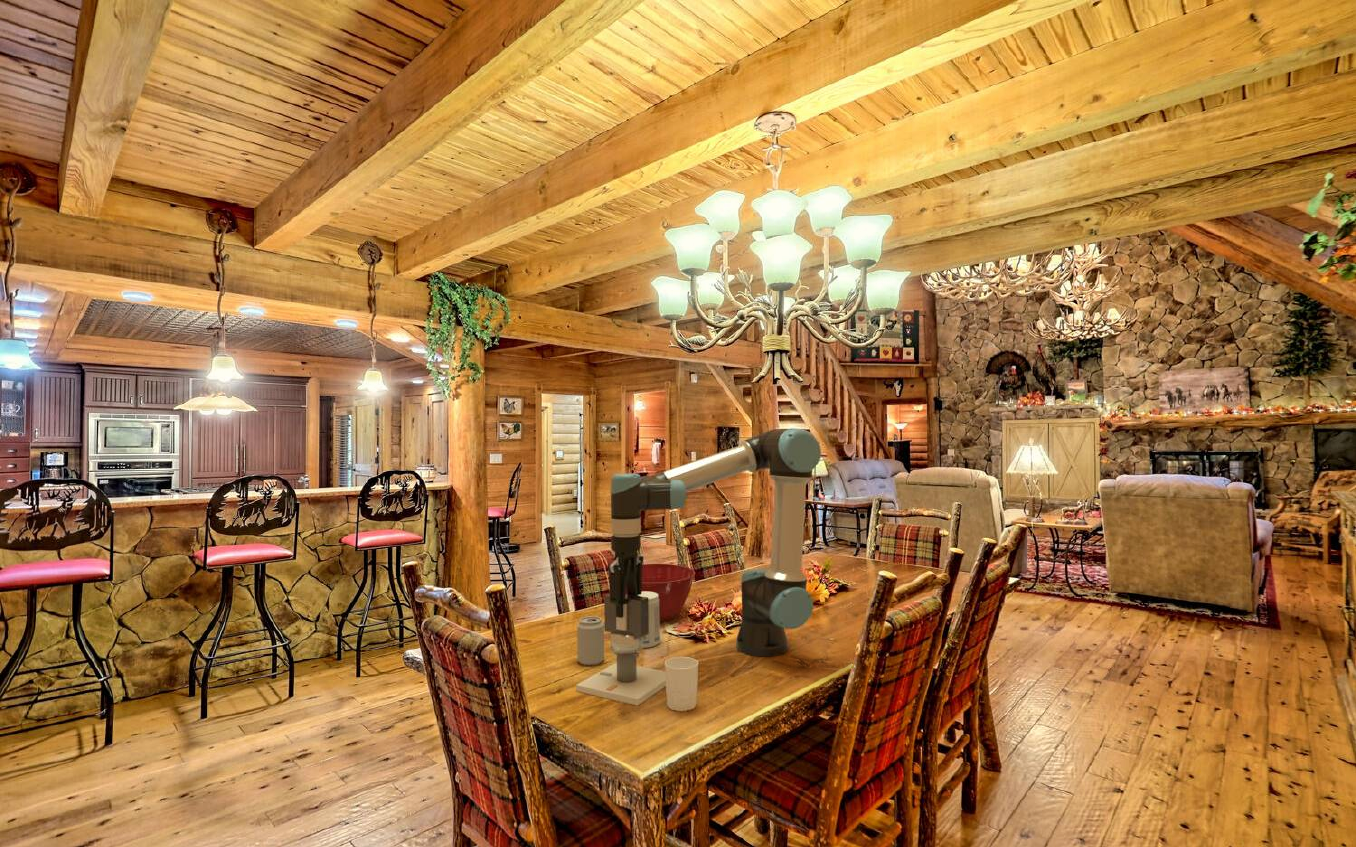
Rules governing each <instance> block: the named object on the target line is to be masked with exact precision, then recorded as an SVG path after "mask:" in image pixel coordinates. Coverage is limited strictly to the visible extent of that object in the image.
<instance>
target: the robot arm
mask: <svg viewBox="0 0 1356 847" xmlns="http://www.w3.org/2000/svg"><path fill="white" fill-rule="evenodd" d="M821 454H822V449H821V445H820V442H819V441H818V439H817V438H816V437H815V435H813V434H812V432H809V431H808V430H806V429H801V428H775V429H770V430H767V431H765V432H762V433H760V434H758V435H755V436H752V437H750V438H748V439H744V440H742V441H740V442H739V445H738V446H734V447H732V448H729V449H726V450H723V451H720V452H718V453H715V454H711V455H709V456H705V457H702V458H700V459H698V460H694V461H691V462H688V463H685V464H683V465H679V466H677V467H674V468H671V469H670V468H669V469H668V470H665V471H662V472H660V473H656V474H652V475H649V476H648V475H647V476H646V475H644V476H641V475H640V473H625V472H624V473H616V474H614V475H613V476H612V477H611V479H610V480H611V481H610V492H609V493H610V512H611V514H610V518H611V520H610V523H611V524H610V528H611V530H610V533H611V534H612V536H611V537H610V549H611V551H613V553H614V558H613V561H612V563H608V564H607V565H606V566H607V567H606V568H607V572H608V579H609V581H608V582H609V585H608V586H609V594H610V602H611V603H614V604H616V629H617V630H623V631H626V630H627V604H625V595H626V586H627V594H628V595H634V596H638V595H641V593H642V564H644V558H645V557H644V556H642V555H638V551H640V550H641V548H642V545H641V542H642V541H641V539H642V537H641V535H640V534H641V532H642V528H641V527H642V525H641V524H642V523H641V519H642V518H641V516H642V515H641V512H642V511H653V510H655V511H656V510H657V511H658V510H660V511H661V510H679V509H682V508H684V507H685V505H686V503H687V499H688V498H687V492H689V491H692V490H695V489H699V488H701V487H705V486H707V485H710V484H712V483H717V482H718V481H721V480H723V479H727V478H730V477H734V476H735V475H738V474H741V473H743V472H747V471H748V472H750V473H754V472H757V471H761V470H769V477H770V478H771V479H772V481H773V483H774V487H773V488H774V489H773V490H774V491H773V509H772V530H771V547H770V562H769V563H770V565H769V566H770V567H769V568H753V569H746V570H744V571H743V572H742V573H741V583H740V584H741V617H742V618H741V623H740V625H739V626H740V627H739V630H738V633H737V636H736V641H735V642H736V649H737V650H738V651H740V653H744V654H746V655H750V656H756V657H757V656H758V657H772V656H779V655H781V654H784V653H786V652H787V651H788V650H789V641H788V638H787V635H786V634H787V633H786V631H785V630H794V629H798V628H800V627H802V626H804V624H805V623H806V622H808V620H809V619H810V618H811V615H812V614H813V609H814V602H813V601H814V600H813V597H812V595H811V594H810V592H809V591H808V590H807V585H808V584H807V581H808V580H807V579H808V578H807V576H806V574H804V572H803V570H802V567H803V550H804V549H803V548H804V529H805V528H804V526H805V513H806V512H805V511H806V510H805V508H806V507H805V506H806V493H807V492H806V491H807V488H806V487H807V486H806V485H807V484H808V483H809V482H810V481H811V480H812V479H813V470H814V469H816V466H817V465H818V464H819V463H820V461H821ZM620 572H623V573H620ZM637 589H638V590H637Z"/></svg>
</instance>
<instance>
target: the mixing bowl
mask: <svg viewBox="0 0 1356 847" xmlns="http://www.w3.org/2000/svg"><path fill="white" fill-rule="evenodd" d="M620 573H623V572H620ZM695 575H696V572H695V570H694V569H692V568H691V567H688V566H684V565H679V564H670V563H643V564H642V591H648V592H655V593H657V594H658V595H659V618H660V622H664V621H668V620H669V621H670V620H671V619H673V618H674V617H675V616H677V615H678V614H679V613H681V611H682V610H683V607H684V606H685V604H686V602H687V599H688V597H689V596H690V595H689V594H690V591H691V588H692V585H693V582H694V576H695ZM637 590H638V589H637ZM626 594H627V586H626ZM627 595H628V594H627Z"/></svg>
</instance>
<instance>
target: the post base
mask: <svg viewBox="0 0 1356 847" xmlns="http://www.w3.org/2000/svg"><path fill="white" fill-rule="evenodd" d="M613 654H614V655H616V662H614V663H613V664H611V665H609V666H607V667H606V668H604V669H602V670H600V671H599V672H597V673H595V674H593V675H592V676H589V677H588V678H586V679H584V680H582V681H581V682H579V683H577V684H575V685H576V686H575V688H576V689H575V692H578V693H582V694H586V695H591V696H595V697H599V698H603V699H608V700H613V701H616V702H620V703H625V704H629V705H633V706H636V707H638V706H640V705H641V704H642V703H644V702H646V701H647V700H648V699H649V698H651V697H652V696H654V695H655V694H656V693H658V692H659V691H661V690H662V689H664V688H666V683H665V670H661V669H655V668H650V667H644V666H640V665H638V664H637V662H638V660H637V659H638V658H640V652H635V653H628V654H622V653H616V652H613Z"/></svg>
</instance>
